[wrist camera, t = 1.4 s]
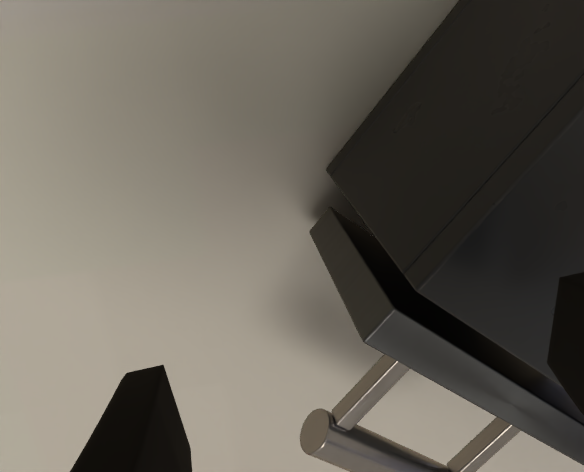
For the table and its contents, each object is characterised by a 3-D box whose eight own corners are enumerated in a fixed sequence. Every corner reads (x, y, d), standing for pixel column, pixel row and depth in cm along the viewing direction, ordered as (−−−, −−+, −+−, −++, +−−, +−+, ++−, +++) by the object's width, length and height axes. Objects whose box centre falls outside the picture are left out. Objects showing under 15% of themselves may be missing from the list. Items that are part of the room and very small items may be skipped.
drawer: (422, 422, 23) (495, 557, 18) (231, 325, 19) (249, 465, 13) (750, 100, 19) (985, 148, 13) (597, -126, 14) (854, -195, 9)
